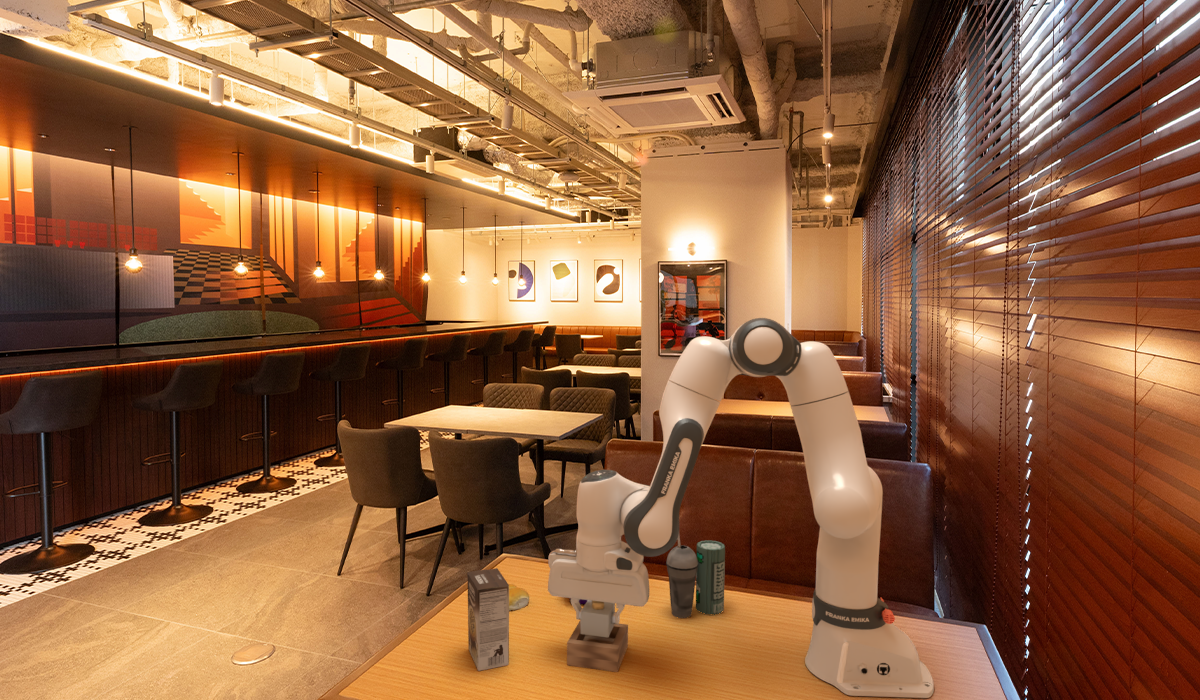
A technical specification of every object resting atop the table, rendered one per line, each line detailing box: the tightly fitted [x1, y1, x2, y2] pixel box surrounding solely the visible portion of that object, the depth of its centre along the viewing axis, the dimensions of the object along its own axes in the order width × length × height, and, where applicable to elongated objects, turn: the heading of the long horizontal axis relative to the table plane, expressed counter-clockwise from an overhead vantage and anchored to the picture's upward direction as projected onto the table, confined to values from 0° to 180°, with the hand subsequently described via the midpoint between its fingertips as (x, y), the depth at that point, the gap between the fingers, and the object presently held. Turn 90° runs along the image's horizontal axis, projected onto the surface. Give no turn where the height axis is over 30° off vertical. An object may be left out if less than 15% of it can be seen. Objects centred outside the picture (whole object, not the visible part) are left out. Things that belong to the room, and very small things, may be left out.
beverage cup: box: [665, 534, 698, 619], centre depth 148 cm, size 7×7×20 cm
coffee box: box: [466, 567, 510, 672], centre depth 129 cm, size 9×6×16 cm
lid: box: [581, 600, 616, 638], centre depth 130 cm, size 6×6×6 cm
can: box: [695, 539, 726, 616], centre depth 151 cm, size 6×6×15 cm
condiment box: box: [566, 620, 629, 673], centre depth 131 cm, size 10×10×4 cm
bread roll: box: [508, 583, 530, 612], centre depth 154 cm, size 8×9×4 cm
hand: (597, 620), depth 130 cm, fingers closed on lid, 6 cm apart
